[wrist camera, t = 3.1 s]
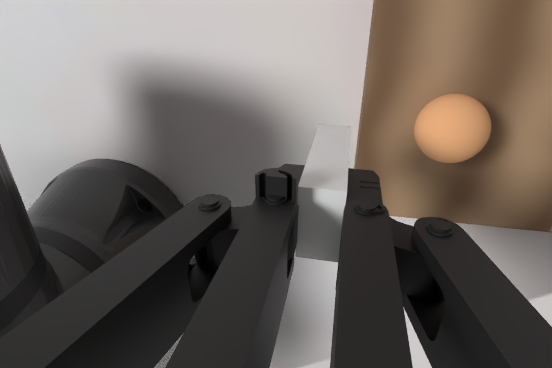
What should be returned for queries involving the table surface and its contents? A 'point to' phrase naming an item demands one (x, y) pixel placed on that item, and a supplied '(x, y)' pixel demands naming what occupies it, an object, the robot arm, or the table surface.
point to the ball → (452, 128)
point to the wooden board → (469, 81)
